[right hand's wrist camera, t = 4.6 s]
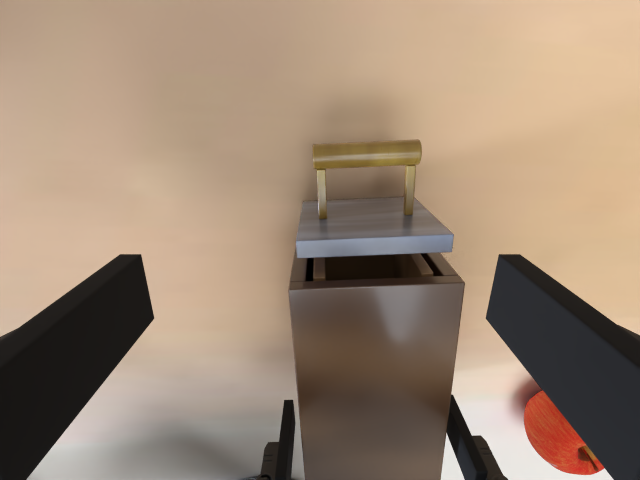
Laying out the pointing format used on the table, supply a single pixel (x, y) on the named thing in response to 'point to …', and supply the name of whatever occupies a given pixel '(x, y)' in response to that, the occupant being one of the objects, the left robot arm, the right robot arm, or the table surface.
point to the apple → (557, 438)
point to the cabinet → (375, 371)
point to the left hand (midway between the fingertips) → (368, 408)
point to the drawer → (369, 219)
